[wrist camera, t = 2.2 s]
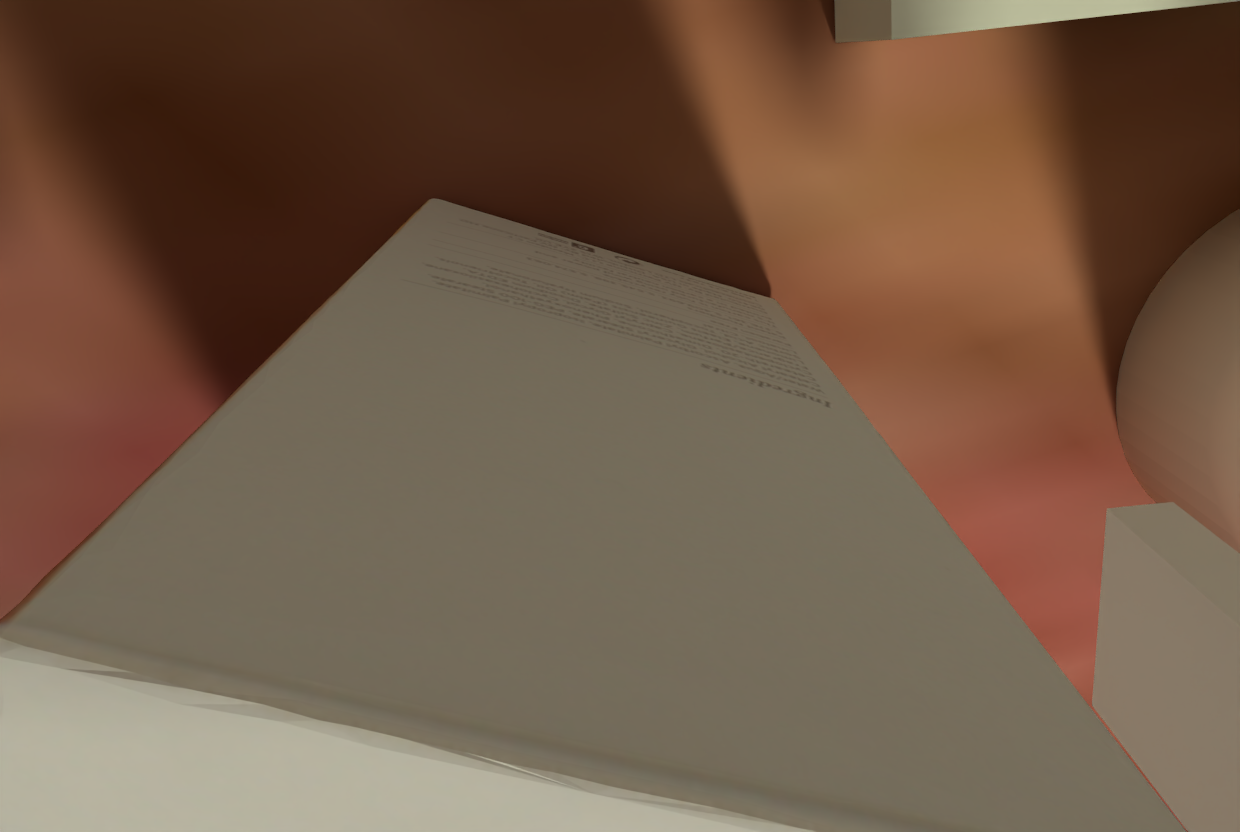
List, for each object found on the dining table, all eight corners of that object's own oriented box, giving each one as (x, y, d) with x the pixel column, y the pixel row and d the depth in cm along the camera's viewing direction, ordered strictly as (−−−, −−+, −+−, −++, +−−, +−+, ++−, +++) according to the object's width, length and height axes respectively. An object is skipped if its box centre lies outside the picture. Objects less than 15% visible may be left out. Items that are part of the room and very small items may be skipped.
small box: (426, 189, 16) (-57, 601, 4) (784, 294, 17) (1302, 905, 5) (330, 601, 19) (-139, 1621, 7) (645, 675, 20) (753, 1700, 7)
